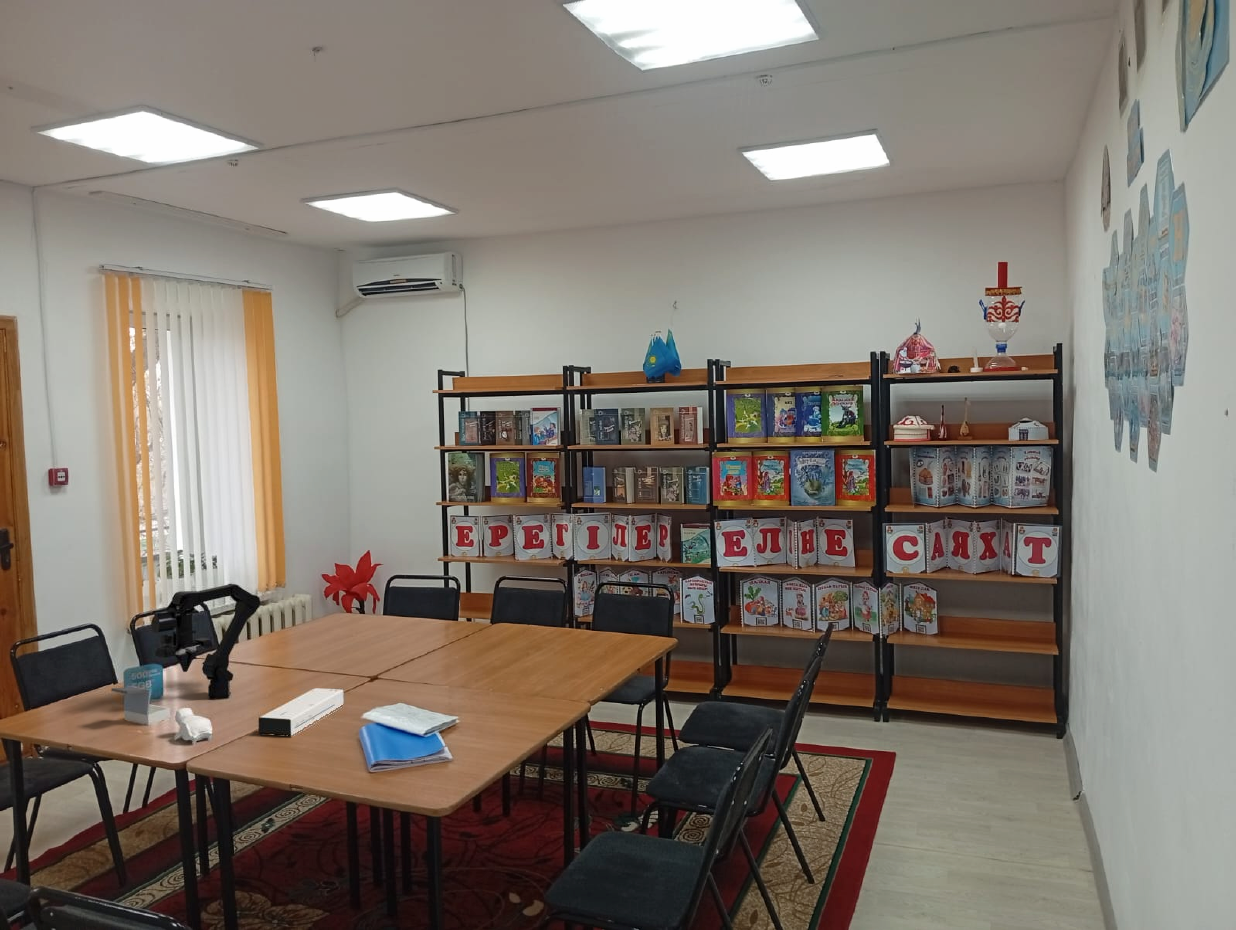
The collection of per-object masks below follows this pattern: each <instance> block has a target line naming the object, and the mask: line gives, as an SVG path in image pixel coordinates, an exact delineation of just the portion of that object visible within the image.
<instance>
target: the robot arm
mask: <svg viewBox="0 0 1236 930" xmlns="http://www.w3.org/2000/svg"><path fill="white" fill-rule="evenodd" d="M226 597H230V598H231V599H232V600H233V601H234V602H235V605H234V615H233V617H232V619H231V621H230V623H229V625H228V627H227V629H226V630H225V633H224V634H223V637H222V638H221V640H220V642H219V645H218V646H217V648H216V650H215V651H214V652H213V653H207V655H206V656H205V659H204V661H203V662H202V663H201V665H202V667H201V670H202V673H203V674H204V676H206V679H207V680H208V681H209V680H210V681H209V684H208V686H207V687H208V688H207V691H208V699H209V700H220V699H222V700H223V699H229V697H230V696H231V694H232V692H231V689H230V688H231V685H230V684H231V683H230V682H231V681H233V678H234V673H232V672H231V671H230V670H228V669H229V665H230V655H231V653H232V651H233V649H234V647H235V644H236V643H237V642H238V639H239V637H240V635H241V633H242V632H243V629H244V627H245V625H246V623H247V621H248V620H249V619H250V618H251V617H252V616H253V615H255V613H256V612H257V611H258V609H259V608H260V606H261V604H262V602H261V599H260V597H259V596H258V595H256V594H252V593H251V592H249V591H247V590H245V589H244V588H242V587H241V586H240V585H239V584H236V583H228V584H225V585H221V586H215V587H211V588H207V589H206V588H205V589H202V590H198V591H197V590H194V591H193V590H186V591H182V590H181V591H177V592H175V593H174V595H173V596H172V598H171V601H170V602H169V604H168V606H167V607H166V609H165V611H160V612H159V611H158V612H157V611H156V612H154V613H153V614H154V616H153V617H152V618H151V621H150V627H151V631H152V632H153V633H155V634H157V633H163V632H169V631H172V635H168V634H163V635H160V640H159V641H160V645H161V646H158V647H157V648H156V650H155V651H154V652H155V657H160V658H171V657H175V658H176V659H177V661H178V663H179V665H180V668H181V669H182V672H183V673H187V672H188V671H189V669H190V666H191V664H192V662H193V660H194V659H195V657H196V655H197V654H198V653H199V652H200V651H199V650H197V648H201V647H203V648H205V649H210V648H213V647H214V643H213V640H212V639H211V638H206V637H200V638H195V639H194V634H196V631H197V630H196V629H194V615H195V614H196V615H197V614H200V611H199V610H198V609H197V608H195V607H198V606H199V605H201V604H202V603H205V602H210V601H214V600H218V599H223V598H226ZM164 645H165V646H164Z"/></svg>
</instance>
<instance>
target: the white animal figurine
mask: <svg viewBox="0 0 1236 930" xmlns="http://www.w3.org/2000/svg"><path fill="white" fill-rule="evenodd" d="M174 719H175V720H174V721H175V722H176V723H177V725H179V729H178V731H177V733H176V734H175V735H174V737H173V739H174V741H175V740H176V741H178V740H180V739H181V738H182V739H183V740H184V741H191V742H192V743H191V745H192V744H195V745H196V744H197V741H198V742H199V741H202V740H204V739H207V741H208V740H209V741H211V740H212V739H213V737H212V735H213V726H212V722H211V720H210V719H209V718H206V717H204V716H200V715H195V714H194V713H193V710H192V709H191V708H190V707H181V708H180V709H178V710H176V712H175V715H174Z"/></svg>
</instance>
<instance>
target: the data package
mask: <svg viewBox="0 0 1236 930" xmlns="http://www.w3.org/2000/svg"><path fill="white" fill-rule="evenodd" d="M122 674H123V687H126V686H132V687H137V688H143V689H148V690H151V696H150V701H152V699H153V700H156V698H157V699H160V698H162V697H163V695H164V667H163V666H162V665H161V664H157V663H149V664H145V665H138V666H134V667H129V668H126V669H124V671H123V673H122ZM124 699H125V693H123V700H124Z"/></svg>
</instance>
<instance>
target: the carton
mask: <svg viewBox="0 0 1236 930" xmlns="http://www.w3.org/2000/svg"><path fill="white" fill-rule="evenodd" d="M166 719H167V720H170V719H171V708H170V707H165V706H161V705H155V704H149V713H148V715H144V714H139V713H134V712H129V711H125V710H124V721H125V720H129V721H128V722H130V721H132V722H131V723H135V724H139V723H140V724H141V725H144V724H146V725H145V726H151V725H155V724H158V723H160V722H159V721H161V722H163V721H162V720H164V721H167V720H166ZM136 722H137V723H136ZM157 722H158V723H157ZM154 723H155V724H154ZM150 724H151V725H150Z"/></svg>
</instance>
